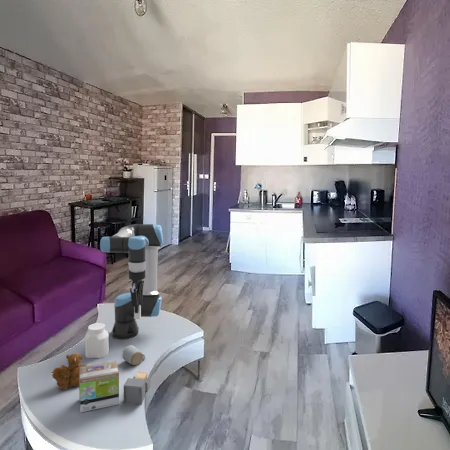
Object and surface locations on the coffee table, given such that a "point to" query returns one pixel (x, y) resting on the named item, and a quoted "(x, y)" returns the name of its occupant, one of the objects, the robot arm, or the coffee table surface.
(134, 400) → the gray bracket pieces
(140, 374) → the tan rectangular block
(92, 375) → the tea box
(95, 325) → the jar
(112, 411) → the coffee table surface
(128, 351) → the ceramic mug
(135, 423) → the coffee table surface
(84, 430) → the coffee table surface
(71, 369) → the stuffed squirrel
